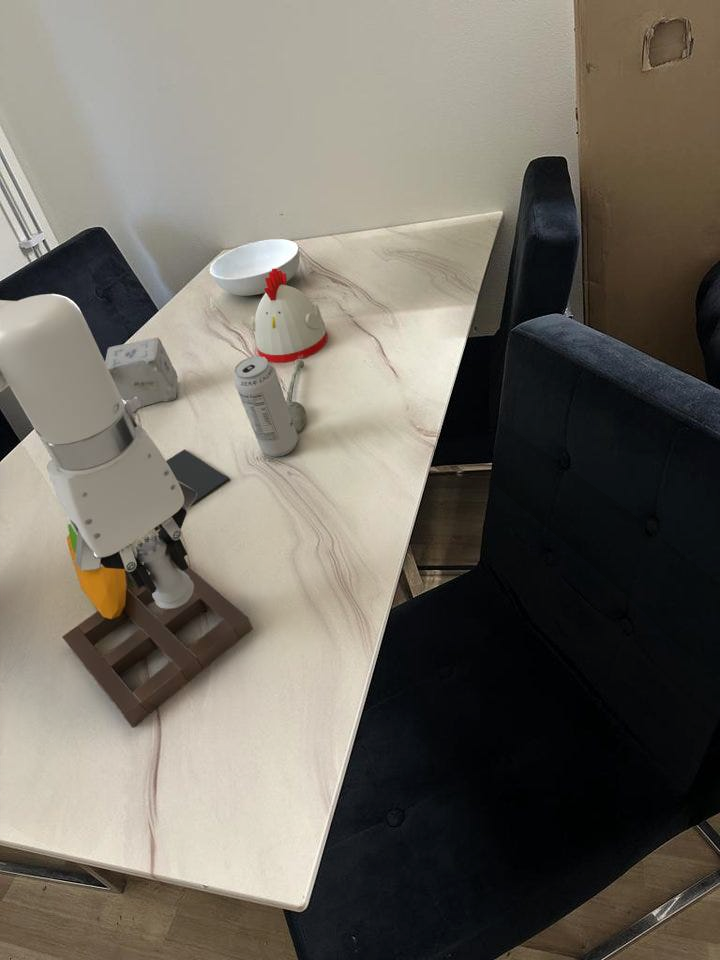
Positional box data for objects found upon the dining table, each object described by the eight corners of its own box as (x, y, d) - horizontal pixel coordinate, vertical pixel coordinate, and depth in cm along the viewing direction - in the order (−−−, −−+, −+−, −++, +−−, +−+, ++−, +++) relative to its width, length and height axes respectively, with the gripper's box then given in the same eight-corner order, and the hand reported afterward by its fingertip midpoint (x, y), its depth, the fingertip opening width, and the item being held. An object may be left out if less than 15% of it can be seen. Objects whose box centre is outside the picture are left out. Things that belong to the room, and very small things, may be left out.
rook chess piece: (155, 616, 71) (124, 565, 66) (156, 586, 74) (127, 536, 69) (196, 604, 71) (168, 552, 66) (195, 574, 74) (168, 523, 69)
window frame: (132, 728, 69) (123, 716, 67) (70, 647, 79) (61, 636, 78) (253, 628, 76) (247, 616, 75) (181, 566, 86) (175, 555, 85)
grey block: (123, 416, 120) (98, 366, 113) (131, 392, 126) (108, 344, 120) (175, 405, 119) (153, 354, 113) (181, 381, 126) (161, 332, 119)
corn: (101, 486, 89) (132, 575, 75) (127, 525, 94) (161, 616, 79) (48, 513, 88) (69, 609, 73) (78, 551, 93) (103, 649, 78)
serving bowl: (202, 295, 157) (192, 267, 153) (271, 261, 166) (264, 234, 162) (251, 314, 144) (242, 284, 139) (323, 275, 153) (317, 246, 148)
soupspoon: (265, 443, 106) (306, 440, 105) (260, 426, 103) (302, 423, 103) (283, 368, 122) (318, 364, 121) (279, 352, 120) (315, 348, 119)
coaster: (156, 530, 93) (155, 528, 93) (114, 495, 101) (113, 493, 101) (230, 480, 99) (229, 477, 98) (185, 451, 107) (184, 449, 107)
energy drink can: (307, 441, 102) (280, 361, 92) (278, 464, 100) (247, 384, 89) (282, 428, 106) (254, 349, 95) (254, 449, 103) (222, 371, 93)
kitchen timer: (247, 363, 126) (222, 289, 117) (273, 328, 136) (252, 257, 127) (315, 361, 122) (295, 284, 113) (336, 325, 132) (319, 251, 122)
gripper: (150, 381, 65) (208, 517, 77) (-13, 469, 58) (78, 605, 69) (190, 404, 60) (245, 545, 72) (18, 503, 53) (111, 643, 64)
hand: (163, 573), depth 70 cm, fingers closed on rook chess piece, 3 cm apart
